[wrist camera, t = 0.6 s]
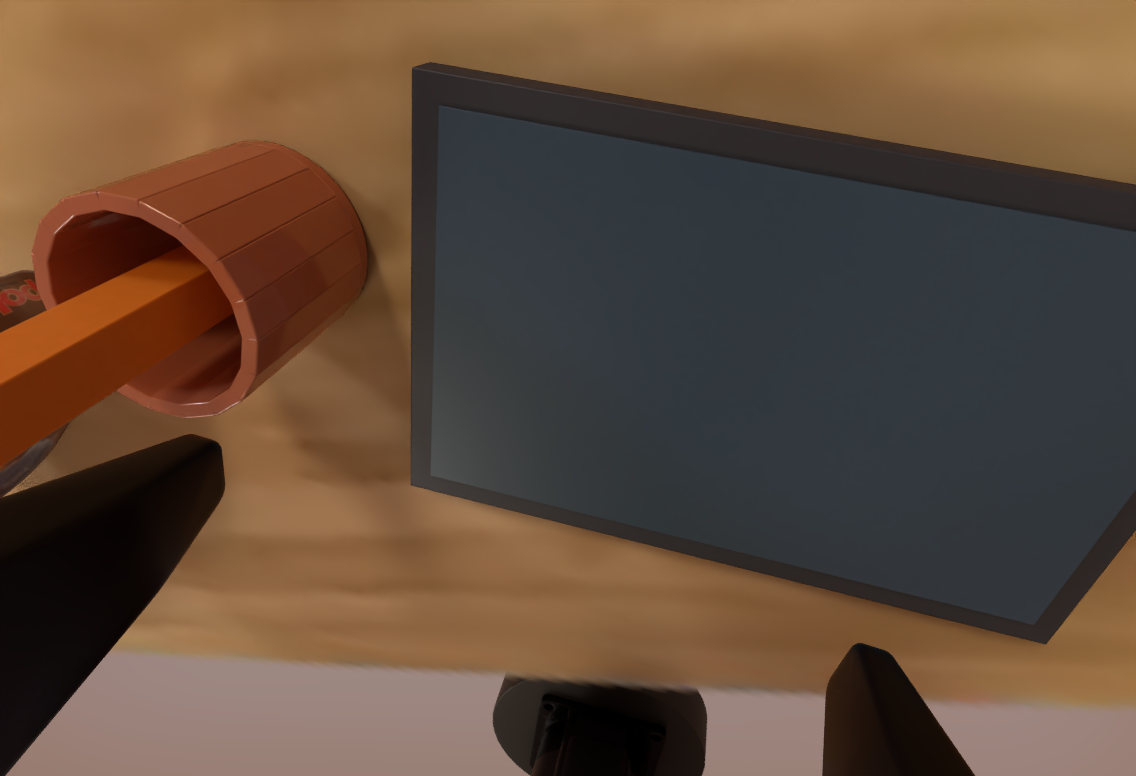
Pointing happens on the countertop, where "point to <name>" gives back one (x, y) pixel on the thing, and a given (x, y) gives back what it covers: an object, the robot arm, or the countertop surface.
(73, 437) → the countertop surface
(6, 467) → the tin
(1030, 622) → the tablet
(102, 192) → the pen cup
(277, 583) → the countertop surface
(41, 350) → the stylus
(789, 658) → the countertop surface
